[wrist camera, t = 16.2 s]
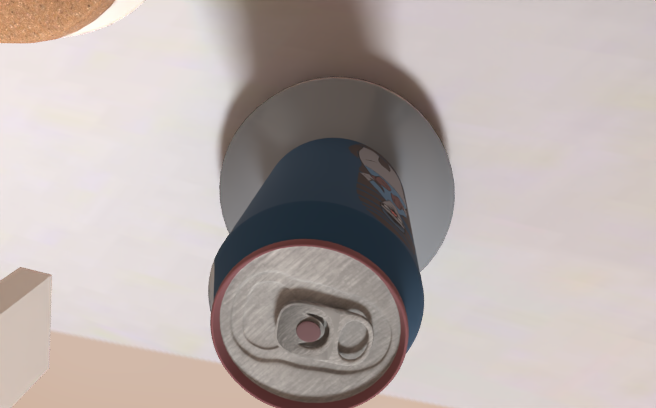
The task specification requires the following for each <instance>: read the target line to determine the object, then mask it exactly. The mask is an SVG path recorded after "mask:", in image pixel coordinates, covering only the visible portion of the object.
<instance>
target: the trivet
mask: <svg viewBox="0 0 656 408" xmlns="http://www.w3.org/2000/svg"><path fill="white" fill-rule="evenodd" d="M322 138H344V139H349V140H353V141H357V142H359V143H362V144H364V145H366V146H368V147H370V148H372V149H373V150H375V151H377V152H378V153H379V154H380V155H382V156H383V157H384V158H385V159H386V160H387V161H388V162H389V163H390V164H391V166H392V167H393V168H394V170H395V171H396V173H397V175H398V176H399V178H400V181H401V183H402V186H403V189H404V192H405V198H406V203H407V208H408V213H409V218H410V224H411V229H412V234H413V239H414V244H415V249H416V255H417V260H418V265H419V270H420V272H421V271H422V270H423V269H424V268H425V267H426V266H427V265H428V264H429V262H430V261H431V260H432V258H433V257H434V256H435V254H436V253H437V251H438V250H439V248H440V246H441V245H442V243H443V241H444V239H445V236H446V234H447V232H448V229H449V226H450V222H451V219H452V215H453V208H454V199H455V195H454V179H453V173H452V168H451V165H450V162H449V159H448V155H447V153H446V151H445V149H444V147H443V145H442V142H441V140H440V139H439V137H438V135H437V134H436V132H435V131H434V129H433V128H432V126H431V125H430V123H429V122H428V120H427V119H426V118H425V117H424V116H423V115H422V114H421V113H420V111H419V110H418V109H417V108H415V107H414V106H413V105H412V104H411V103H410V102H408V101H407V100H406V99H404V98H403V97H401V96H400V95H398V94H397V93H395V92H394V91H392V90H390V89H387V88H385V87H383V86H381V85H379V84H376V83H372V82H369V81H366V80H362V79H356V78H350V77H325V78H316V79H312V80H308V81H304V82H301V83H298V84H295V85H293V86H290V87H288V88H286V89H284V90H282V91H281V92H279V93H277V94H275V95H274V96H272V97H271V98H269V99H268V100H267V101H265V102H264V103H263V104H262V105H260V106H259V107H258V108H256V109H255V110H254V111H253V112H252V113H251V114H250V115H249V116H248V117H247V118H246V119H245V121H244V122H243V123H242V125H241V126H240V127H239V129H238V130H237V131H236V133H235V135H234V137H233V139H232V140H231V142H230V144H229V146H228V149H227V152H226V154H225V157H224V160H223V165H222V169H221V175H220V186H219V188H220V203H221V209H222V214H223V218H224V221H225V224H226V227H227V230H228V232H229V234H230V232H231V231H232V229H233V228H234V226H235V225H236V223H237V222H238V220H239V219H240V218H241V216H242V215H243V213H244V212H245V210H246V209H247V207H248V206H249V204H250V203H251V201H252V200H253V198H254V197H255V195H256V194H257V192H258V191H259V189H260V188H261V186H262V185H263V184H264V182H265V181H266V179H267V178H268V176H269V175H270V173H271V172H272V170H273V169H274V167H275V166H276V165H277V163H278V162H279V161H280V160H281V159H282V158H283V157H284V156H285V155H286V154H287V153H289V152H290V151H291V150H293V149H294V148H296V147H298V146H300V145H302V144H304V143H307V142H309V141H313V140H317V139H322Z"/></svg>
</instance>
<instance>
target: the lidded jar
mask: <svg viewBox="0 0 656 408" xmlns="http://www.w3.org/2000/svg"><path fill="white" fill-rule="evenodd" d="M145 1H146V0H0V43H36V42H42V41H48V40H54V39H58V38H64V37H71V36H77V35H83V34H87V33H90V32H93V31H96V30H99V29H102V28H104V27H107V26H110V25H112V24H114V23H115V22H117V21H119V20H120V19H122V18H124V17H126V16H127V15H129V14H131V13H132V12H133V11H135V10H136V9H137V8H138V7H139V6H140V5H141V4H143V3H144V2H145Z"/></svg>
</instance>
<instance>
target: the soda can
mask: <svg viewBox="0 0 656 408" xmlns="http://www.w3.org/2000/svg"><path fill="white" fill-rule="evenodd" d="M208 296H209V305H210V311H211V324H210V325H211V335H212V340H213V344H214V347H215V350H216V352H217V355H218V357H219V359H220V361H221V363H222V364H223V366H224V367H225V369H226V370H227V371H228V373H229V374H230V375H231V377H232V378H233V379H234V380H235V381H236V382H237V383H238V384H239V385H240V386H241V387H242V388H243V389H244V390H246V391H247V392H248V393H250V394H251V395H252V396H254V397H255V398H257V399H258V400H260V401H262V402H264V403H266V404H268V405H270V406H273V407H276V408H354V407H356V406H358V405H361V404H363V403H365V402H367V401H368V400H370V399H372V398H373V397H375V396H376V395H377V394H379V393H380V392H381V391H382V390H383V389H384V388H385V387H386V386H387V385H388V384H389V383H390V382H391V381H392V380H393V378H394V377H395V375H396V374H397V372H398V371H399V369H400V367H401V365H402V363H403V360H404V358H405V354H406V353H407V351H408V350H409V349H410V347H411V345H412V344H413V342H414V340H415V338H416V336H417V333H418V331H419V328H420V325H421V321H422V316H423V309H424V293H423V286H422V281H421V275H420V270H419V265H418V260H417V255H416V249H415V244H414V239H413V234H412V229H411V224H410V218H409V213H408V208H407V203H406V198H405V192H404V189H403V186H402V183H401V181H400V178H399V176H398V175H397V173H396V171H395V170H394V168H393V167H392V166H391V164H390V163H389V162H388V161H387V160H386V159H385V158H384V157H383V156H382V155H380V154H379V153H378V152H377V151H375V150H373V149H372V148H370V147H368V146H366V145H364V144H362V143H359V142H357V141H353V140H349V139H344V138H322V139H317V140H313V141H309V142H307V143H304V144H302V145H300V146H298V147H296V148H294V149H293V150H291V151H290V152H289V153H287V154H286V155H285V156H284V157H283V158H282V159H281V160H280V161H279V162H278V163H277V165H276V166H275V167H274V169H273V170H272V172H271V173H270V175H269V176H268V178H267V179H266V181H265V182H264V184H263V185H262V186H261V188H260V189H259V191H258V192H257V194H256V195H255V197H254V198H253V200H252V201H251V203H250V204H249V206H248V207H247V209H246V210H245V212H244V213H243V215H242V216H241V218H240V219H239V220H238V222H237V223H236V225H235V226H234V228H233V229H232V231H231V232H230V234H229V235H228V237H227V238H226V240H225V241H224V243H223V244H222V246H221V247H220V249H219V251H218V253H217V255H216V257H215V259H214V262H213V265H212V268H211V272H210V277H209V286H208Z"/></svg>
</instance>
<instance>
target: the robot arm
mask: <svg viewBox="0 0 656 408" xmlns="http://www.w3.org/2000/svg"><path fill="white" fill-rule="evenodd" d="M51 288H52V275H50V274H46V273H42V272H38V271H34V270H30V269H26V268H22V267H20V268H18V269H17V270H15V271H14V272H12V273H11V274H9V275H8V276H7V277H5V278H4V279H2V280H1V281H0V408H12V407H13V406H14V404H15V403H16V402H17V401H18V400H19V399H20V398H21V397H22V396H23V395H24V394H25V393H26V392H27V391H28V390H29V389H30V388H31V387H32V386H33V385H34V384H35V383H36V382H37V380H38V379H39V378H40V377H41V376H42V375H43V374H44V373H45V372H46V371H47V370H48V369H49V360H50V324H51Z"/></svg>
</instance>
